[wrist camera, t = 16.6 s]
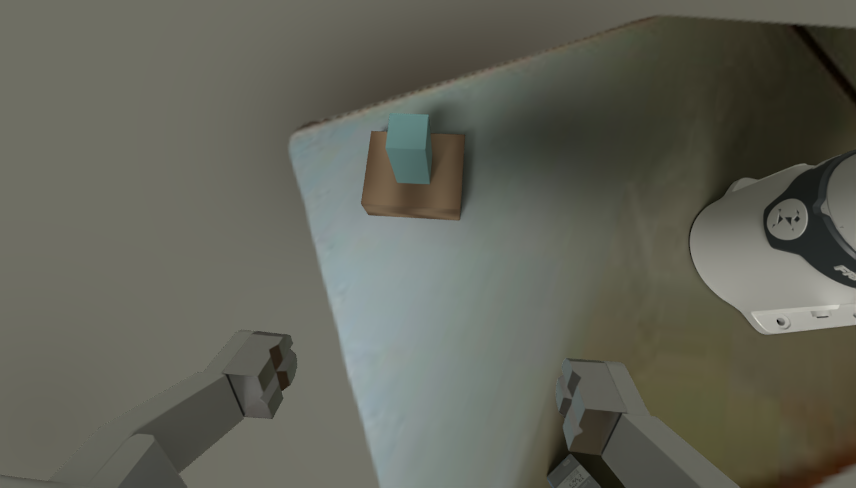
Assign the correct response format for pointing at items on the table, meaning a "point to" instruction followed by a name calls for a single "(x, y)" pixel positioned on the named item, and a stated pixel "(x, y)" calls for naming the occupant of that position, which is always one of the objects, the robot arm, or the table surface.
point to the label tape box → (571, 475)
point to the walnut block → (415, 198)
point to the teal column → (409, 147)
